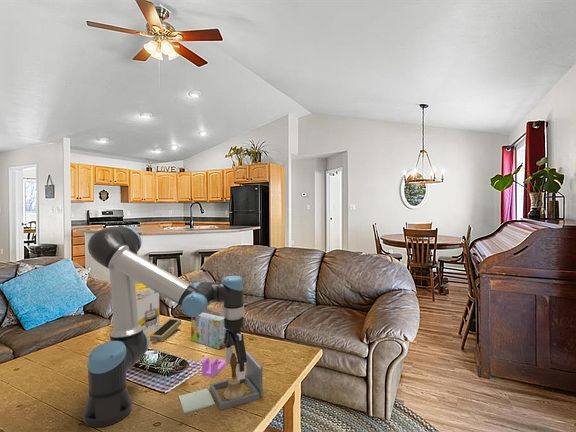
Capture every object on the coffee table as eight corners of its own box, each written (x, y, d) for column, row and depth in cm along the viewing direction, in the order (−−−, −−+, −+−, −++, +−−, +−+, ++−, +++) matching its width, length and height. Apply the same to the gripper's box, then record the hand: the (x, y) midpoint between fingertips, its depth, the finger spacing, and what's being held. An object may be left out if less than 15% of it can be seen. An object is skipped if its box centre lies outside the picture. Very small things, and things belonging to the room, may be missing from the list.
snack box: (226, 346, 171) (226, 317, 170) (219, 350, 166) (219, 320, 165) (198, 337, 182) (198, 310, 181) (190, 340, 177) (190, 313, 177)
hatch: (220, 410, 118) (220, 377, 117) (209, 389, 131) (209, 359, 131) (262, 397, 126) (262, 366, 125) (248, 379, 139) (248, 351, 138)
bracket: (213, 377, 140) (213, 361, 140) (202, 375, 142) (202, 359, 142) (227, 363, 153) (227, 348, 152) (216, 361, 154) (216, 347, 154)
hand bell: (235, 402, 122) (235, 360, 122) (218, 395, 127) (218, 355, 126) (249, 392, 129) (249, 352, 129) (233, 385, 134) (233, 347, 133)
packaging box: (133, 337, 182) (133, 292, 181) (117, 331, 190) (116, 288, 189) (159, 328, 195) (159, 286, 194) (143, 322, 204) (142, 282, 203)
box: (182, 326, 194) (181, 318, 193) (160, 349, 172) (158, 340, 171) (170, 325, 196) (169, 317, 195) (146, 347, 174) (144, 339, 173)
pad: (184, 413, 116) (184, 412, 116) (178, 397, 125) (178, 396, 125) (215, 404, 121) (215, 403, 121) (207, 389, 131) (207, 388, 131)
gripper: (255, 325, 118) (256, 383, 118) (232, 306, 140) (233, 355, 140) (235, 329, 114) (236, 389, 115) (215, 309, 136) (216, 359, 137)
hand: (235, 371), depth 128 cm, fingers open, 13 cm apart
